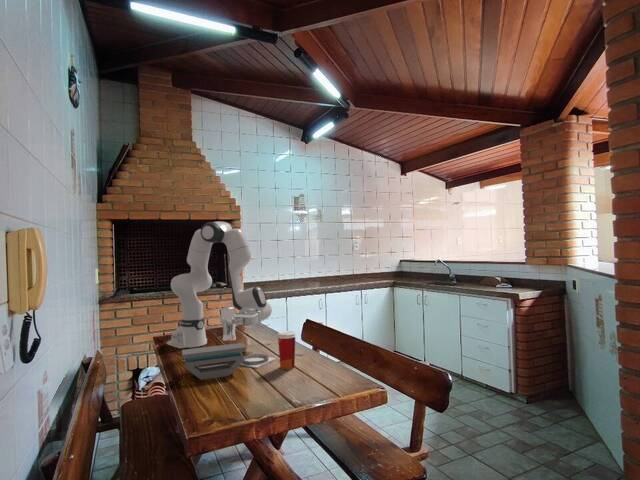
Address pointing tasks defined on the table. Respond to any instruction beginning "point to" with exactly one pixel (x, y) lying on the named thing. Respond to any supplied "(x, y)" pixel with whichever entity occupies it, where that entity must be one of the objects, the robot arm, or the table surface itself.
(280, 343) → the coffee cup
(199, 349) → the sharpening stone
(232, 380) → the table surface
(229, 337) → the steel tumbler
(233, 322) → the robot arm
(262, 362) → the steel ring collar
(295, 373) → the table surface
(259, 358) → the pale board
